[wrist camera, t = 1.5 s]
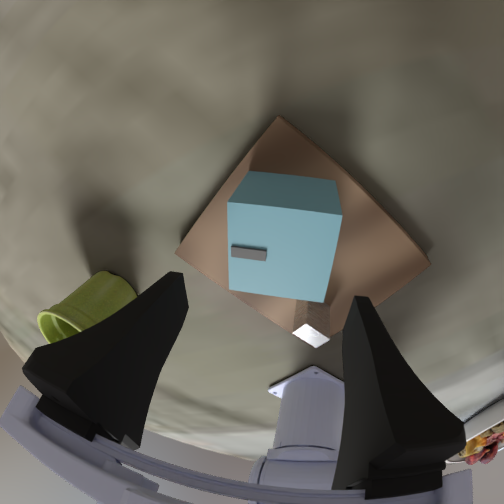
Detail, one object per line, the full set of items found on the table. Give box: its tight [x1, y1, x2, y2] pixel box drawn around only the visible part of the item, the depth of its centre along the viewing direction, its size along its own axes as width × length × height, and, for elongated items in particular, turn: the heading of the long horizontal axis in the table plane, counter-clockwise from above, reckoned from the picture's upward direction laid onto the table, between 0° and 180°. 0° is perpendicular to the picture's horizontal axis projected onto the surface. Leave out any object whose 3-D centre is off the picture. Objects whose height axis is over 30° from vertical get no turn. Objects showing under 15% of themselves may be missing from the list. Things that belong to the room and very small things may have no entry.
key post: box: [292, 299, 330, 348], centre depth 21 cm, size 2×1×4 cm, turn 53°
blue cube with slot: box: [227, 171, 343, 303], centre depth 17 cm, size 5×5×5 cm
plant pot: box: [37, 271, 137, 344], centre depth 25 cm, size 9×9×9 cm
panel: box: [175, 115, 431, 347], centre depth 21 cm, size 15×13×1 cm
